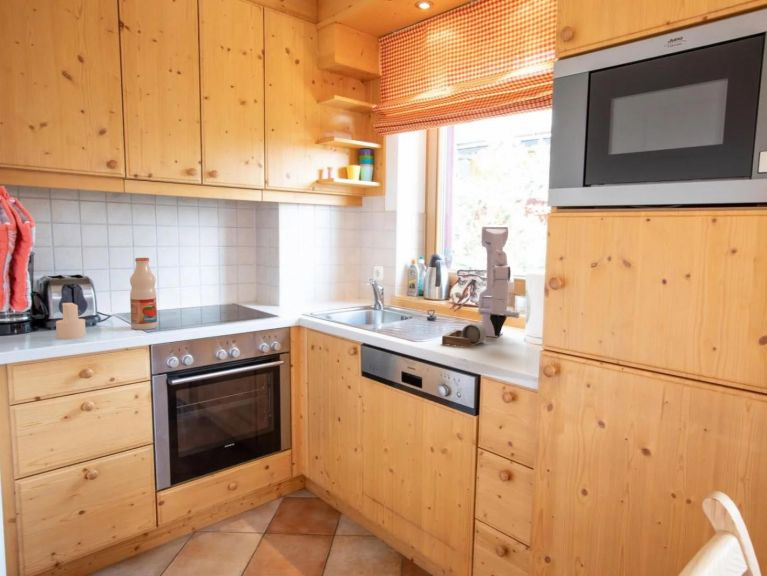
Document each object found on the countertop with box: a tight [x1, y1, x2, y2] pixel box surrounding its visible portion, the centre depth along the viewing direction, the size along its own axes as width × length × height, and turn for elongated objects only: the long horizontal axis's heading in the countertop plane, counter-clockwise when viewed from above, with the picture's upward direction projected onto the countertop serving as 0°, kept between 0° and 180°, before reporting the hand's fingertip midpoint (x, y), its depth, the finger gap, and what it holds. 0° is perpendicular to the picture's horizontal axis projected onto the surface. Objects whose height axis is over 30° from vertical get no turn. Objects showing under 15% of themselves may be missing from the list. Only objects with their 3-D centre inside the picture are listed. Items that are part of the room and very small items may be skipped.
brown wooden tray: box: [441, 329, 472, 348], centre depth 190 cm, size 15×10×3 cm
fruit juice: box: [129, 257, 158, 331], centre depth 201 cm, size 9×9×28 cm
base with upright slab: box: [55, 302, 87, 341], centre depth 182 cm, size 9×9×12 cm
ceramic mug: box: [460, 323, 487, 346], centre depth 189 cm, size 11×8×8 cm
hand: (497, 335), depth 184 cm, fingers closed
